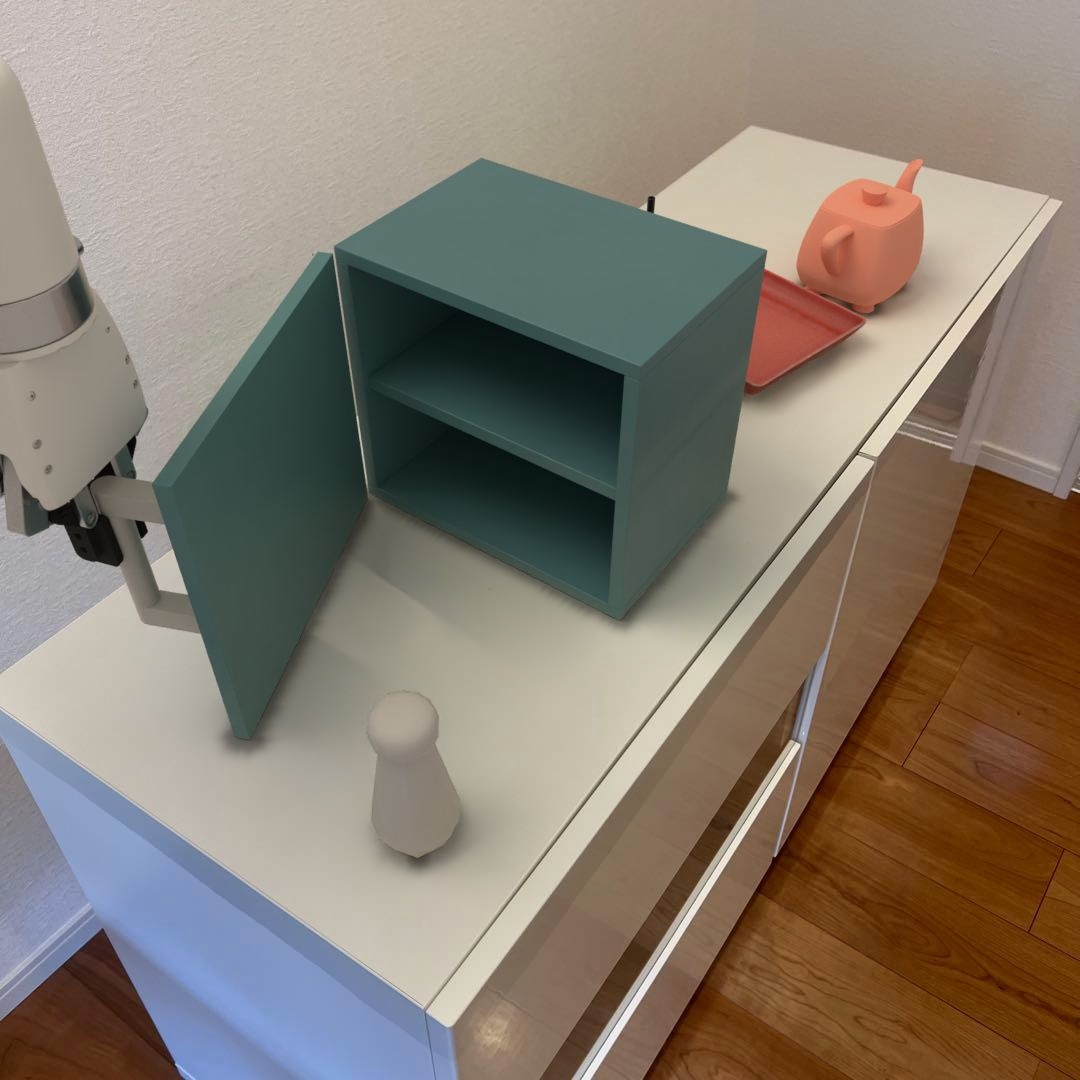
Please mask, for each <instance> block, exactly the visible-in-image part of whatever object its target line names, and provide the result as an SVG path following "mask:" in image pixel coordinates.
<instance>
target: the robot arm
mask: <svg viewBox="0 0 1080 1080" xmlns="http://www.w3.org/2000/svg"><path fill="white" fill-rule="evenodd" d="M35 123H36V122H35V120H34V117H33V114H32V111H31V109H30V106H29V103H28V99H27V97H26V93H25V92H24V89H23V86H22V84H21V81H20V79H19V77H18V75H17V73H16V72H15V71H14V70H13V68H12V67H11V65H9V63H7V61H6V60H5V59H3V57H1V56H0V499H2V498H3V497H4V503H5V504H4V507H5V517H6V519H5V520H6V528H7V530H8V532H10V533H14V534H17V535H20V536H24V537H28V538H30V537H33V536H35V535H38V534H39V533H41V532H43V531H46V530H48V529H50V527H51V526H53V525H57V526H63V527H64V529H65V531H66V534H67V536H68V539H69V541H70V543H71V545H72V548H73V550H74V551H75V554H76V555H77V556H78V557H79V558H81V559H82V560H83V561H84V560H85V561H87V562H90V563H99V564H104V565H107V566H110V567H114V568H118V567H120V564H121V563H122V562H123V560H124V559H123V557H124V556H123V553H122V551H121V548H120V546H119V543H118V541H117V538H116V536H115V533H114V530H113V528H112V525H111V523H110V520H109V519H108V517H106V516H104V515H101V514H100V513H99V511H98V508H97V506H96V503H95V500H94V498H93V495H92V493H91V490H90V487H91V484H92V483H93V482H94V481H95V480H96V479H98V478H100V477H103V476H118V477H124V478H131V479H137V471H136V470H137V469H136V467H135V464H134V462H133V461H134V455H135V451H136V447H137V442H138V441H137V440H138V439H137V437H138V436H139V434H140V433H141V431H142V428H143V426H144V424H145V423H146V421H147V419H148V416H149V408H148V406H147V404H146V403H147V402H146V398H145V394H144V390H143V388H142V384H141V381H140V377H139V374H138V372H137V370H136V367H135V364H134V361H133V359H132V357H131V354H130V352H129V349H128V346H127V345H126V342H125V340H124V338H123V336H122V333H121V332H120V330H119V328H118V326H117V324H116V322H115V320H114V318H113V317H112V314H111V313H110V311H109V309H108V308H107V306H106V304H105V302H104V301H103V299H102V298H101V297H100V295H99V293H98V292H97V291H96V290H95V289H94V288H93V287H91V285H90V283H89V280H88V276H87V274H86V270H85V267H84V265H83V262H82V259H81V256H82V255H83V254H84V251H85V247H84V245H83V243H82V241H81V240H80V239H79V238H78V237H77V236H76V235H74V234H73V233H72V230H71V226H70V223H69V221H68V217H67V214H66V211H65V209H64V206H63V202H62V200H61V197H60V194H59V191H58V187H57V184H56V183H55V179H54V176H53V174H52V170H51V168H50V164H49V161H48V158H47V155H46V153H45V149H44V146H43V143H42V141H41V138H40V136H39V132H38V129H37V126H36V124H35ZM135 523H136V526H137V529H138V532H139V534H140V537H141V540H142V539H144V538H145V537H146V535H147V534H148V533H149V530H148V526H147V524H146V522H145V521H139V520H135Z"/></svg>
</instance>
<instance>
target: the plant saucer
mask: <svg viewBox="0 0 1080 1080" xmlns="http://www.w3.org/2000/svg"><path fill="white" fill-rule="evenodd" d="M866 324H867V318H866V317H864V316H862V315H860V314H859V313H857V312H854V311H852V310H851V309H849V308H847V307H844V306H843V305H840V304H838V303H836V302H834V301H833V300H831V299H827V297H826V298H825V297H824V296H822V295H821V294H816V293H813V292H811V291H810V290H807V289H806V288H805V286H801V285H799V284H798V283H796V282H794V281H792V280H789V279H787V278H785V277H783V276H781V275H779V274H777V273H775V272H772V271H771V270H768V269H767V268H765V269H764V275H763V281H762V287H761V293H760V299H759V305H758V311H757V317H756V323H755V329H754V335H753V341H752V346H751V352H750V358H749V364H748V370H747V376H746V382H745V388H744V394H747V395H748V396H749V395H750V396H753V395H757V394H759V393H760V392H762V391H763V390H765V389H767V388H769V387H770V386H772V385H774V384H775V383H777V382H779V381H780V380H781V379H784V378H785V377H786V376H789V375H790V374H792V373H793V372H795V371H797V370H798V369H800V368H801V367H803V366H805V365H807V364H808V363H810V362H812V361H813V360H815V359H817V358H818V357H820V356H821V355H823V354H825V353H826V352H828V351H829V350H831V349H833V348H834V347H836V346H838V345H839V344H841V343H842V342H844V341H845V340H847V339H848V338H850V337H852V335H854V334H855V333H857V332H858V331H859V330H861V328H863V327H864V326H865V325H866Z"/></svg>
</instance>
